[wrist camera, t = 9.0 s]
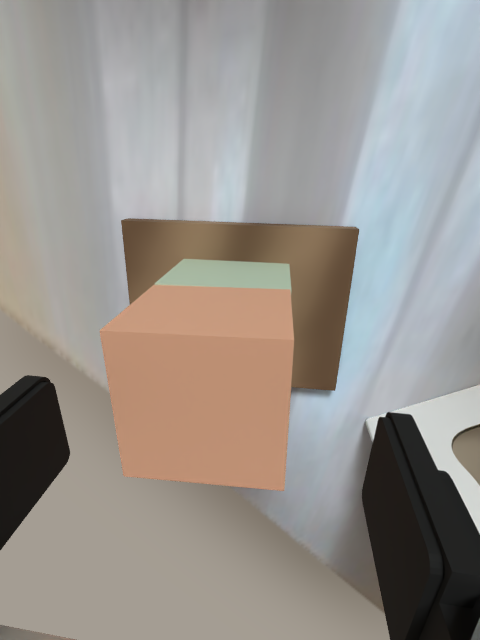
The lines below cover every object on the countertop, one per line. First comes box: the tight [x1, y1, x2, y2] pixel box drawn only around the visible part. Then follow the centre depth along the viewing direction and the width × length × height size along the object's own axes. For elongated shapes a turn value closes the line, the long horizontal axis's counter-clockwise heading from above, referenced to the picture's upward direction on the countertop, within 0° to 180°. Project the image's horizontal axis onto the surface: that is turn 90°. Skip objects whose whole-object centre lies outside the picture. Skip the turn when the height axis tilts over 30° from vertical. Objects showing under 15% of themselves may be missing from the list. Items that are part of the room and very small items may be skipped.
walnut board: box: [121, 219, 359, 391], centre depth 21 cm, size 13×10×1 cm
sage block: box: [155, 259, 292, 291], centre depth 19 cm, size 6×6×5 cm
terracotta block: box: [100, 285, 294, 491], centre depth 14 cm, size 6×6×5 cm
